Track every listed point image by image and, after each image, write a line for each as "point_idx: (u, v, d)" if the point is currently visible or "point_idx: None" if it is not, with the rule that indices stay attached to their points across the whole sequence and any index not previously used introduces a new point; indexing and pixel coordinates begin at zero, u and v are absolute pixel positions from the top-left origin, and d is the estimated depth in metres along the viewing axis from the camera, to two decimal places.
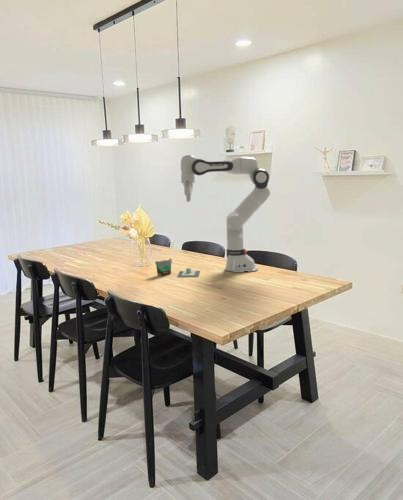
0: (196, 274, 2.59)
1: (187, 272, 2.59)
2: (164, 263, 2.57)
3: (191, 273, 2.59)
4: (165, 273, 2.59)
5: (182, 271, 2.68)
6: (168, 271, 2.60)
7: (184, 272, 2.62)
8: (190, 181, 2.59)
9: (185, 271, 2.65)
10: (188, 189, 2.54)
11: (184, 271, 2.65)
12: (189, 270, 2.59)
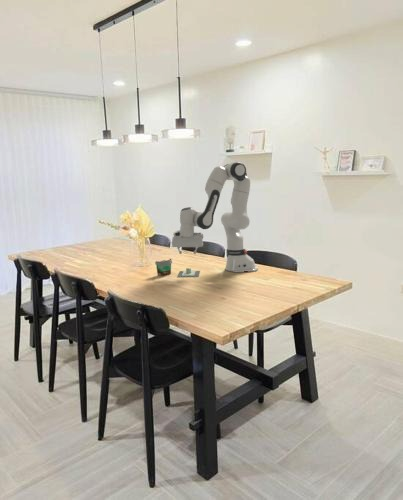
0: (196, 274, 2.59)
1: (187, 272, 2.59)
2: (164, 263, 2.57)
3: (191, 273, 2.59)
4: (165, 273, 2.59)
5: (182, 271, 2.68)
6: (168, 271, 2.60)
7: (184, 272, 2.62)
8: None
9: (185, 271, 2.65)
10: (202, 241, 2.57)
11: (184, 271, 2.65)
12: (189, 270, 2.59)
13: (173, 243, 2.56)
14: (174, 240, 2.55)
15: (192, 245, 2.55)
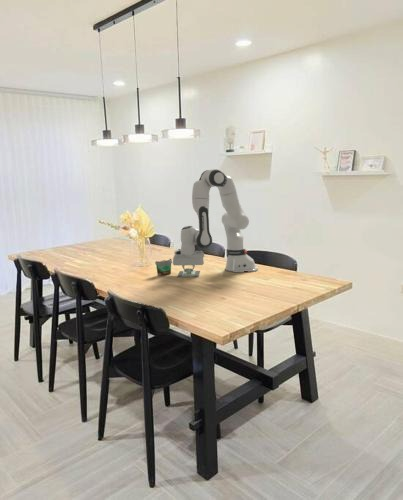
0: (196, 274, 2.59)
1: (187, 272, 2.59)
2: (164, 263, 2.57)
3: (191, 273, 2.59)
4: (165, 273, 2.59)
5: (182, 271, 2.68)
6: (168, 271, 2.60)
7: (184, 272, 2.62)
8: None
9: None
10: None
11: None
12: (189, 270, 2.59)
13: (174, 261, 2.58)
14: (175, 258, 2.57)
15: (193, 263, 2.58)
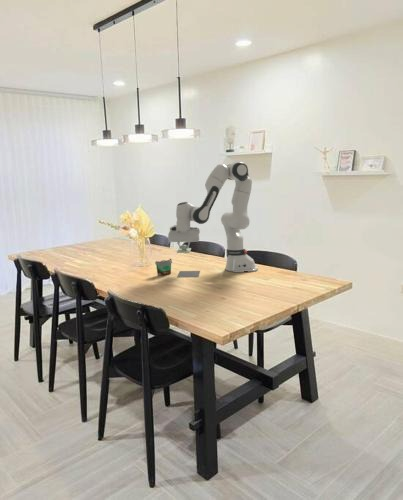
0: (196, 274, 2.59)
1: (182, 249, 2.56)
2: (164, 263, 2.57)
3: (186, 250, 2.56)
4: (165, 273, 2.59)
5: (182, 271, 2.68)
6: (168, 271, 2.60)
7: (179, 249, 2.59)
8: None
9: None
10: (198, 235, 2.56)
11: None
12: (184, 247, 2.56)
13: (169, 238, 2.55)
14: (170, 235, 2.54)
15: (188, 240, 2.55)
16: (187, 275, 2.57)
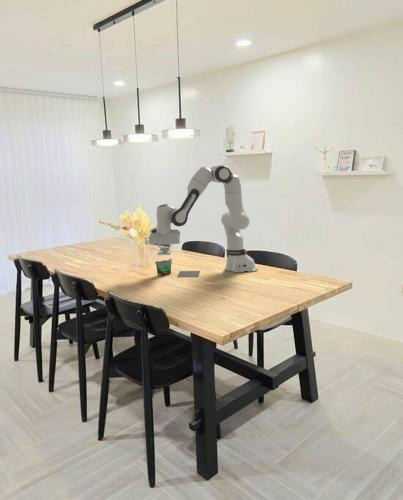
0: (196, 274, 2.59)
1: (163, 251, 2.57)
2: (164, 263, 2.57)
3: (167, 252, 2.57)
4: (165, 273, 2.59)
5: (182, 271, 2.68)
6: (168, 271, 2.60)
7: (160, 251, 2.60)
8: None
9: None
10: (179, 237, 2.57)
11: None
12: (165, 249, 2.57)
13: (150, 240, 2.56)
14: (151, 237, 2.55)
15: (169, 242, 2.55)
16: (187, 275, 2.57)
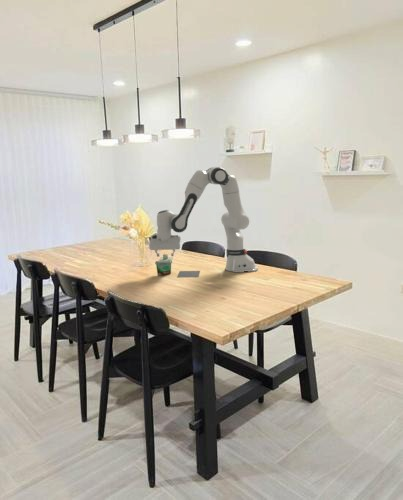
0: (196, 274, 2.59)
1: (164, 258, 2.58)
2: (164, 263, 2.57)
3: (168, 259, 2.58)
4: (165, 273, 2.59)
5: (182, 271, 2.68)
6: (168, 271, 2.60)
7: (161, 258, 2.61)
8: None
9: (162, 258, 2.64)
10: (179, 243, 2.58)
11: (161, 258, 2.64)
12: (166, 256, 2.58)
13: (150, 246, 2.57)
14: (151, 243, 2.56)
15: (169, 248, 2.56)
16: (187, 275, 2.57)
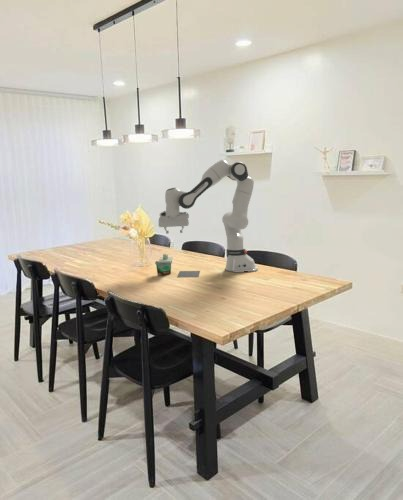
0: (196, 274, 2.59)
1: (164, 258, 2.58)
2: (164, 263, 2.57)
3: (168, 259, 2.58)
4: (165, 273, 2.59)
5: (182, 271, 2.68)
6: (168, 271, 2.60)
7: (161, 258, 2.61)
8: None
9: (162, 258, 2.63)
10: (188, 220, 2.64)
11: (161, 258, 2.63)
12: (166, 256, 2.58)
13: (160, 223, 2.63)
14: (160, 220, 2.62)
15: (178, 224, 2.63)
16: (187, 275, 2.57)
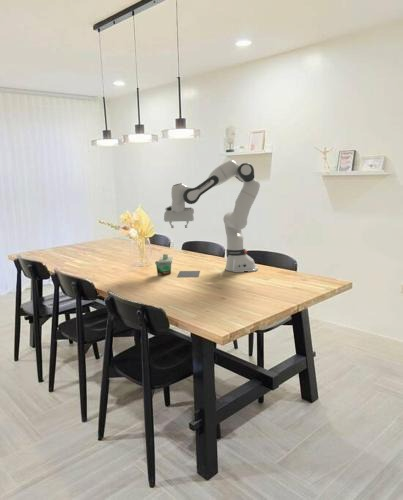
0: (196, 274, 2.59)
1: (164, 258, 2.58)
2: (164, 263, 2.57)
3: (168, 259, 2.58)
4: (165, 273, 2.59)
5: (182, 271, 2.68)
6: (168, 271, 2.60)
7: (161, 258, 2.61)
8: None
9: (162, 258, 2.64)
10: None
11: (161, 258, 2.63)
12: (166, 256, 2.58)
13: (165, 218, 2.69)
14: (166, 215, 2.68)
15: (183, 219, 2.68)
16: (187, 275, 2.57)
